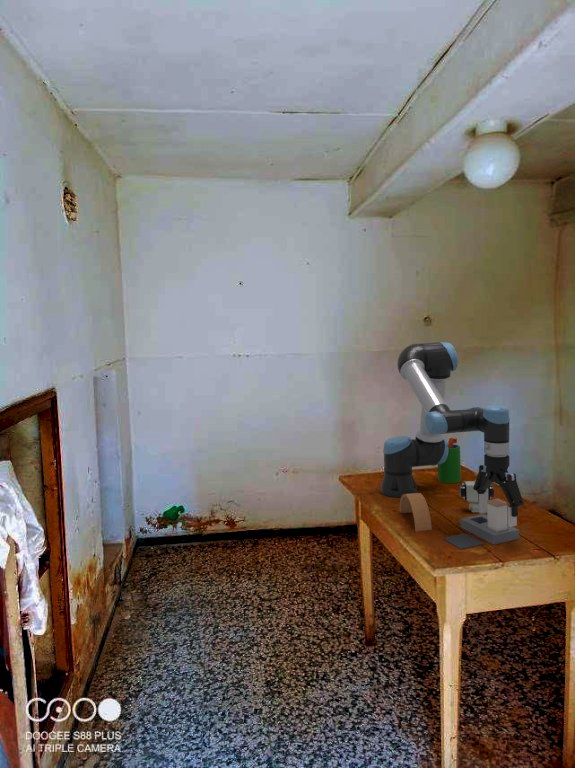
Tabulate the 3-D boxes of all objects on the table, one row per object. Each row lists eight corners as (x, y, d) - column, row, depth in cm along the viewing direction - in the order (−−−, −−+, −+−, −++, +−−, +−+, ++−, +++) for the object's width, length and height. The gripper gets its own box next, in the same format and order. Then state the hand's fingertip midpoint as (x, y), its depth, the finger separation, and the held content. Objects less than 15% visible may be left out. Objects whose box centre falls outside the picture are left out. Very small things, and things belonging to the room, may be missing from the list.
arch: (414, 511, 193) (413, 486, 192) (431, 531, 173) (431, 503, 172) (399, 512, 192) (398, 487, 191) (415, 532, 173) (414, 504, 172)
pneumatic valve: (494, 514, 186) (494, 482, 184) (461, 513, 188) (460, 481, 187) (491, 508, 191) (491, 477, 190) (459, 508, 193) (458, 477, 192)
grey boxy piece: (460, 528, 174) (460, 518, 173) (484, 523, 177) (483, 513, 177) (494, 546, 159) (493, 535, 158) (518, 540, 162) (518, 529, 162)
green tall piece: (448, 476, 235) (447, 434, 233) (465, 479, 228) (464, 436, 226) (435, 481, 229) (434, 437, 227) (452, 484, 222) (452, 440, 220)
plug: (487, 535, 165) (487, 500, 164) (497, 533, 167) (497, 498, 166) (497, 540, 162) (496, 504, 160) (507, 538, 163) (507, 502, 162)
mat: (442, 540, 165) (442, 538, 165) (465, 535, 168) (465, 533, 168) (460, 551, 156) (460, 548, 156) (484, 545, 159) (484, 543, 159)
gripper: (461, 448, 172) (462, 509, 174) (516, 464, 149) (517, 534, 151) (479, 445, 174) (480, 505, 176) (536, 461, 151) (536, 530, 153)
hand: (497, 519), depth 164 cm, fingers open, 12 cm apart
